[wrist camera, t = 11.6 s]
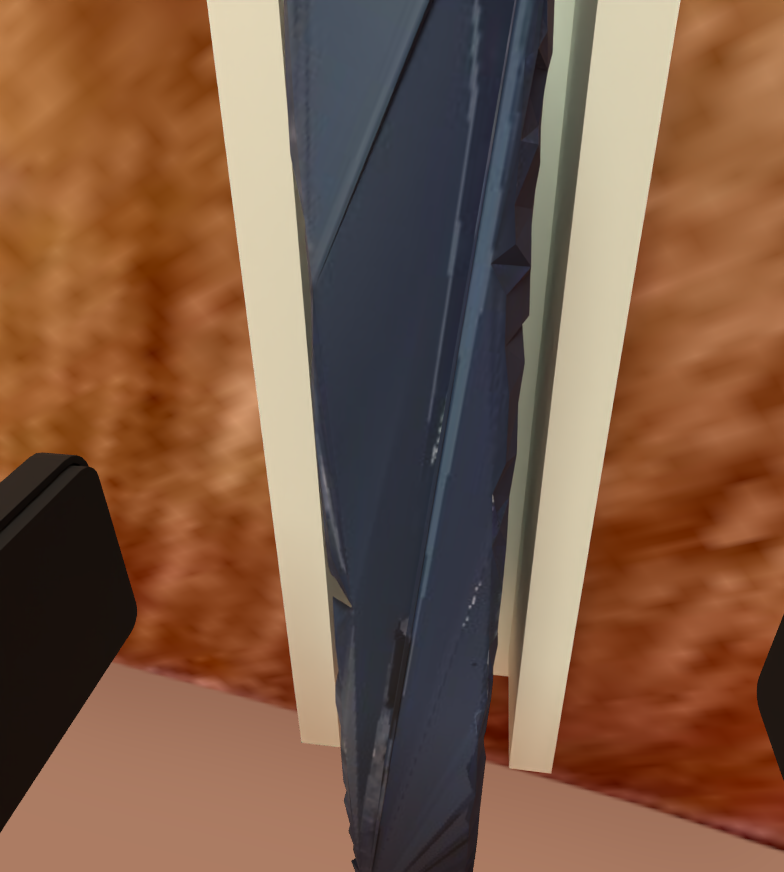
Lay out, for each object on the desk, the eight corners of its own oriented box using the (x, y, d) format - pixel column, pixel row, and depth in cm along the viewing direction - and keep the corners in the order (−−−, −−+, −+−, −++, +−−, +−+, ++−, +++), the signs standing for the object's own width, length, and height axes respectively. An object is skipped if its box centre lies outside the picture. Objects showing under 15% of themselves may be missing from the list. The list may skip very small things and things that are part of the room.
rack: (724, -349, 12) (854, -582, 7) (562, 664, 24) (575, 797, 20) (225, -304, 13) (84, -483, 8) (317, 639, 25) (278, 760, 21)
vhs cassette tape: (481, 601, 22) (466, 951, 14) (391, 591, 22) (322, 925, 14) (561, -111, 13) (672, -428, 4) (407, -110, 13) (229, -401, 5)
